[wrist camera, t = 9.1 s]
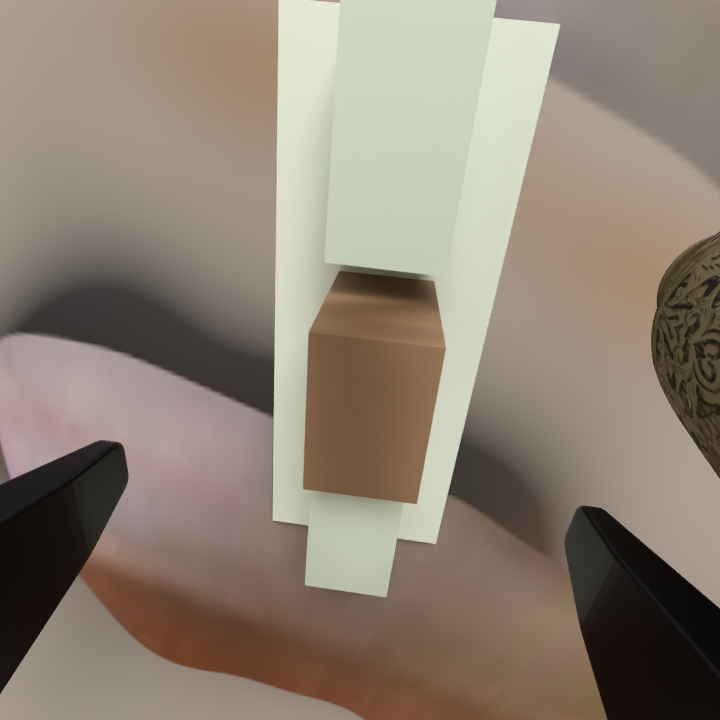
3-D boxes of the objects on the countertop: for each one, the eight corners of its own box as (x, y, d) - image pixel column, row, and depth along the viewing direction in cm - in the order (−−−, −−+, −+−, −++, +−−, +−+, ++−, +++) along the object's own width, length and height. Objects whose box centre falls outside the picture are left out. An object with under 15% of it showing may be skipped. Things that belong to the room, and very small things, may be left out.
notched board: (553, 29, 12) (607, -11, 8) (434, 533, 20) (440, 609, 17) (284, 3, 12) (239, -45, 9) (276, 510, 20) (251, 581, 17)
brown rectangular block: (434, 281, 14) (445, 347, 10) (414, 402, 16) (416, 504, 12) (339, 270, 14) (308, 332, 10) (331, 392, 16) (302, 489, 12)
